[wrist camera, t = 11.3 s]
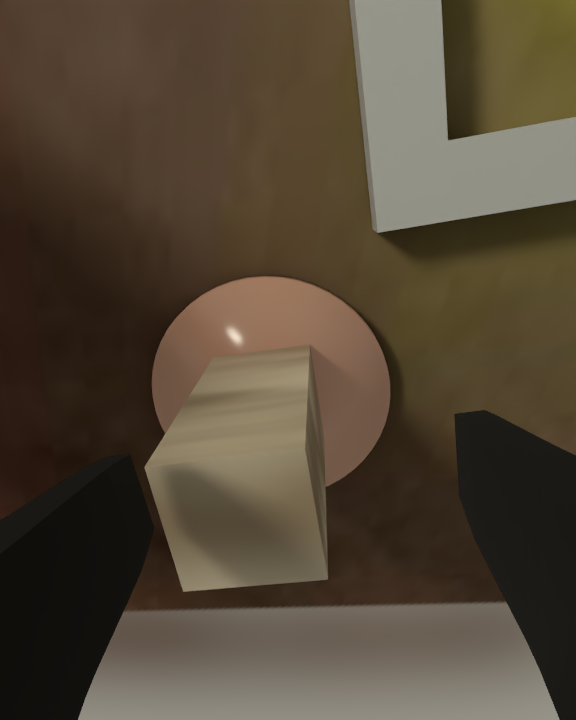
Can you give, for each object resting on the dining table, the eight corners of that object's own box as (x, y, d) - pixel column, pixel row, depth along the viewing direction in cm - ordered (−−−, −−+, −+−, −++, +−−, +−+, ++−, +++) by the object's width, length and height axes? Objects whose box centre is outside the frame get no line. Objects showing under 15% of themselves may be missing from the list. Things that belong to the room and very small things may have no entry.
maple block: (323, 432, 20) (328, 579, 12) (232, 442, 20) (183, 591, 13) (310, 344, 18) (304, 448, 11) (212, 357, 19) (144, 467, 11)
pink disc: (398, 477, 21) (400, 484, 20) (187, 499, 22) (183, 507, 21) (375, 256, 18) (377, 258, 17) (128, 295, 19) (122, 299, 18)
